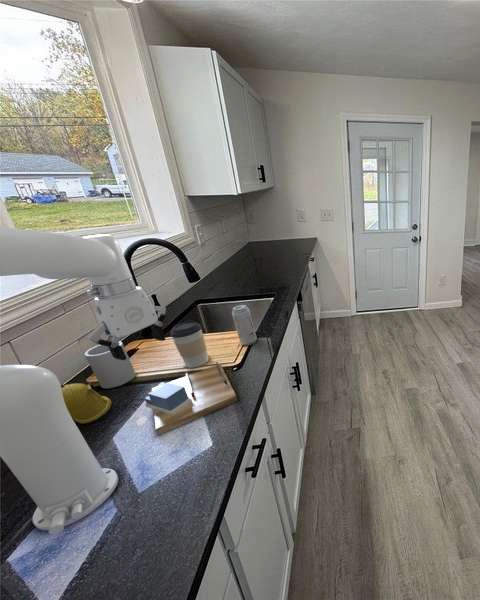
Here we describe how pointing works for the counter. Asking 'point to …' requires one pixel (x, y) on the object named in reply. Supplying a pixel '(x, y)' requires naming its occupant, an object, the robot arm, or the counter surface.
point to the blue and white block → (168, 399)
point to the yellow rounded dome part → (84, 402)
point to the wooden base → (198, 397)
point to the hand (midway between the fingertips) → (142, 349)
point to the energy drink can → (244, 325)
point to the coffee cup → (190, 343)
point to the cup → (109, 366)
